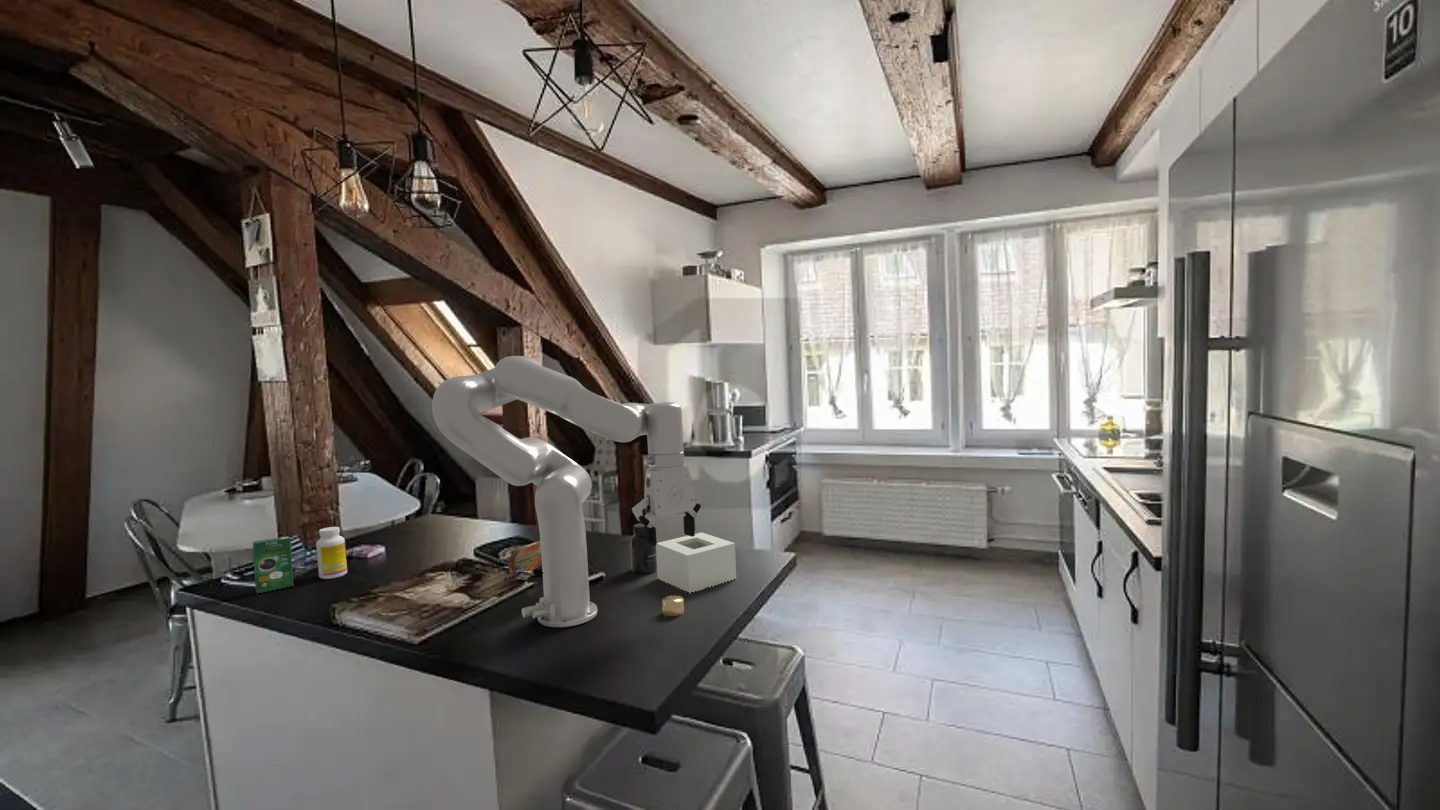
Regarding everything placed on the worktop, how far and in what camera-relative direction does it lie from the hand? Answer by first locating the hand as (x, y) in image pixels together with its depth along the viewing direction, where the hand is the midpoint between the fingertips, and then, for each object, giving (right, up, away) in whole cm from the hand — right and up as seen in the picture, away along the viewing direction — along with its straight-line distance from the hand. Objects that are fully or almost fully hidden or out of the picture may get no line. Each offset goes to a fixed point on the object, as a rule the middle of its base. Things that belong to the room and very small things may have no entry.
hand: (670, 539), depth 138 cm
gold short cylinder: (0, -16, +1) cm, 16 cm away
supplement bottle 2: (-9, -14, +30) cm, 35 cm away
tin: (-38, -16, +30) cm, 51 cm away
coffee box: (-103, -19, +27) cm, 108 cm away
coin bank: (+5, -14, +22) cm, 26 cm away
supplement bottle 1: (-94, -17, +36) cm, 102 cm away
